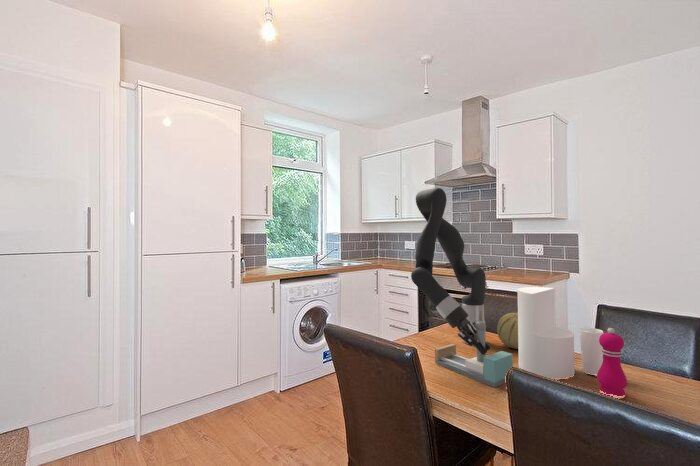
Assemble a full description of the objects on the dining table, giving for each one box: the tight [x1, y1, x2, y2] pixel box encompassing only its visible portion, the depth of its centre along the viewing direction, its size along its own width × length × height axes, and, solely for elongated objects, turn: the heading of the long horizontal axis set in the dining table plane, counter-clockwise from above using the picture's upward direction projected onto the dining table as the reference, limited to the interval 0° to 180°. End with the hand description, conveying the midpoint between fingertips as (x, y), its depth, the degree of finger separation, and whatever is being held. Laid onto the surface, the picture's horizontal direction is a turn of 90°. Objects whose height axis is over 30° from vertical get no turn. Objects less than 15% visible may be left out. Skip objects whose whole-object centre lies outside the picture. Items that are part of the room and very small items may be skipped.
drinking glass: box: [579, 327, 604, 374], centre depth 119 cm, size 7×7×15 cm
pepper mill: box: [596, 327, 628, 400], centre depth 104 cm, size 7×7×20 cm
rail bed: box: [434, 343, 514, 388], centre depth 123 cm, size 10×25×8 cm, turn 33°
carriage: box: [465, 321, 487, 373], centre depth 120 cm, size 8×7×16 cm
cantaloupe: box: [496, 312, 518, 350], centre depth 146 cm, size 15×15×15 cm
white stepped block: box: [517, 286, 576, 381], centre depth 123 cm, size 17×17×28 cm
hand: (487, 351), depth 118 cm, fingers open, 3 cm apart
